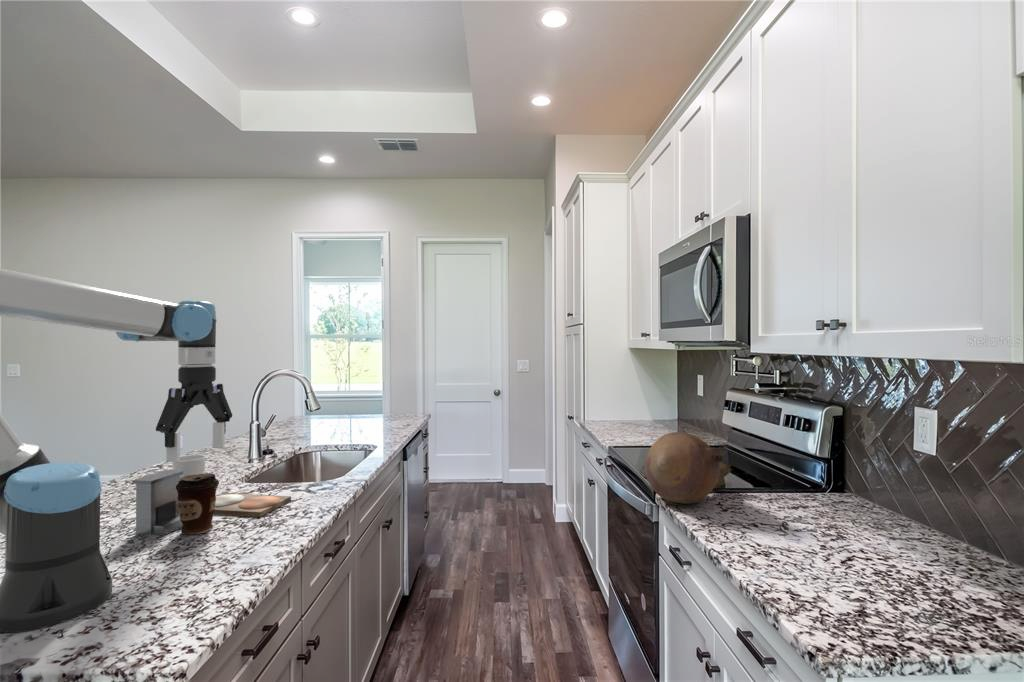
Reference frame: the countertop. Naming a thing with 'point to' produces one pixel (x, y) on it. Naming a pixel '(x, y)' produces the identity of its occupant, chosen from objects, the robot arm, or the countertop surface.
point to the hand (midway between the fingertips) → (197, 454)
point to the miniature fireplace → (157, 503)
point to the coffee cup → (197, 502)
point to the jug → (684, 468)
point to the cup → (190, 465)
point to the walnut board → (248, 504)
